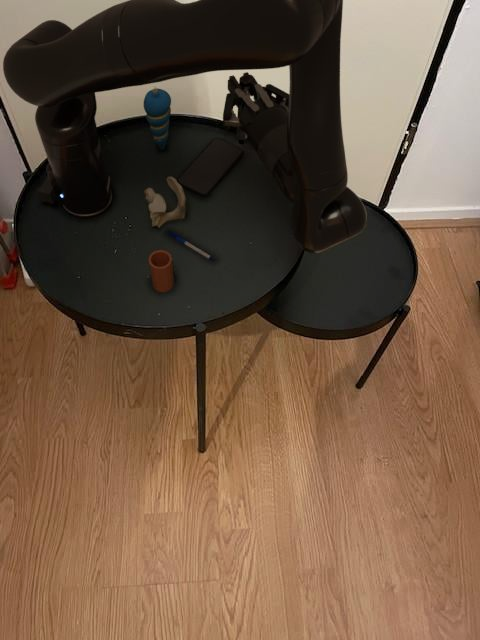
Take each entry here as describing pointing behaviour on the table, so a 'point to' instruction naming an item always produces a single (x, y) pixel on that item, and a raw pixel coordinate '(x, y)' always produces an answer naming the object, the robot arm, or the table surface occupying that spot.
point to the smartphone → (210, 167)
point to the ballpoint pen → (190, 245)
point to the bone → (159, 205)
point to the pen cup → (161, 271)
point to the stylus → (246, 88)
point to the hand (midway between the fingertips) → (237, 78)
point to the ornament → (158, 114)
